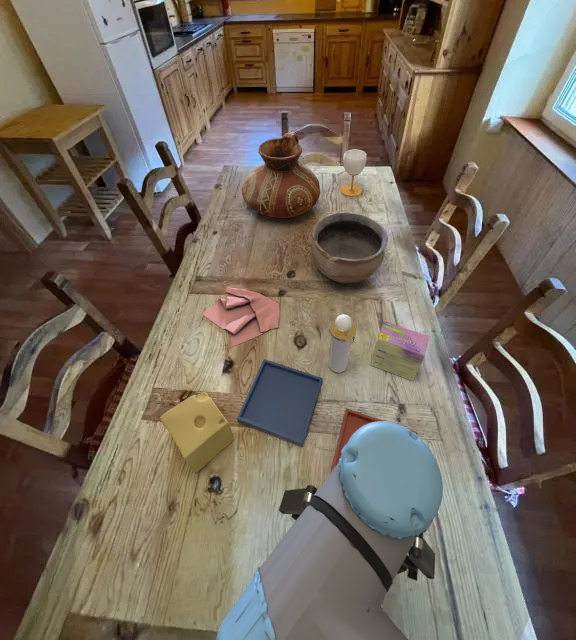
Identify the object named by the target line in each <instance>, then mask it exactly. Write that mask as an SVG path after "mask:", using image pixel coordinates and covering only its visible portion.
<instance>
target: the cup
mask: <svg viewBox="0 0 576 640" xmlns="http://www.w3.org/2000/svg"><path fill="white" fill-rule="evenodd" d="M367 159H368V157H367V153H366V151H364V150H362V149H357V148H353V149H352V148H351V149H348V150H346V151H345V152H344V153H343V168H344V170H345V172H346V173H347V174H348V175H349V176H351V181H350V183H347V184H343V185H342V186H341V187H340V192H341V193H342V194H343V195H345V196H347V197H358V196H360V195H361V194H362V193H363V188H362V187H361V186H360V185H358V184H355V183H354V180H355V176H356V177H357V176H358V175H360V174H361V173H362V172H363V170H364V169H365V167H366V164H367Z"/></svg>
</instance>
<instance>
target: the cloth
mask: <svg viewBox="0 0 576 640" xmlns="http://www.w3.org/2000/svg"><path fill="white" fill-rule="evenodd" d="M225 293H227V296H226V298H227V299H225V298H218V299H217V301H215V302H214V303H213V304H212V305H211V306H210V307H208V308H207V309H206V310H205V311H204V312H202V313H201V315H202V316H203V317H205V318H207V320H209V321H211V322H212V323H213V324H215V325H216V326H217V327H219V328H221V329H222V330H227V334H228V338H229V340H230V343H231V346H232V347H235V346H238V345H241V344H243V343H246V342H248V341H251V340H252V339H255V338H257V337H260V336H262V335H264V334H266V333H267V332H268V331H269V330H274V329H279V326H280V317H281V307H280V303H279V302H278V301H277V300H272V299H271V298H269V297H267V296H265V295H263V294H261V293H260V292H256V291H254V290H248V289H245V288H239V287H226V288H225Z"/></svg>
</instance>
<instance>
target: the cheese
mask: <svg viewBox="0 0 576 640" xmlns="http://www.w3.org/2000/svg"><path fill="white" fill-rule="evenodd" d="M159 420H160V422H161V424H162V425H163V426H164V428H165V429H166V430H167V431H168V433H169V434H170V436H171V438H172V439H173V441H174V444H175V445H176V447H177V448H178V450H179V452H180V454H181V456H182V457H183V459H184V460H185V462H186V463H187V465H188V466H189V467H190V469H191V470H192V471H193V472H194V473H195V474H196V473H198V472H199V471H201V470H202V469H203V468H204V467H205V466H206V465H208V463H210V462H211V461H212V460H213V459H214V458H215V457H216V456H217V455H219V453H221V452H222V451H223V450H224V449H225V448H227V447H229V445H230V444H231V443H233V442H234V441H235V440H236V439H235V435H234V433H233V431H232V427H231V424H230V423H229V421H228V420H227V419H226V416H224V415H223V413H222V412H221V410H220V409H219V408H218V406H217V405H216V403H215V401H213V399H212V397H210V396H209V394H208V393H207V391H202V392H201V393H199V394H192V395H191V396H189V397H187V398H186V399H184V400H183V401H181V402H179V403H178V404H176V405H175V406H173V407H172V408H170V409H168V410H167V411H165V412H164V413H163V414H162V415H161V416H160V417H159Z"/></svg>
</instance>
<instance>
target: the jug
mask: <svg viewBox="0 0 576 640" xmlns="http://www.w3.org/2000/svg"><path fill="white" fill-rule="evenodd" d="M257 152H258V154H259V157H260V158H261V159H262V161H263V163H262V164H260V165H258V166H256V167H255V168H254V169H253V170H252V171H250V172H249V173H248V175H247V176H246V177H245V178H244V181H243V184H242V186H241V187H242V188H241V195H242V199H243V202H244V204H246V205H247V207H249V208H250V209H251V210H252V211H254V212H256V213H258V214H261V215H262V216H265V217H271V218H279V219H287V218H288V219H289V218H294V217H295V218H296V217H299V216H301V215H303V214H305V213H307V212H309V211H311V209H312V208H313V207H315V206H316V205H317V203H318V201H319V198H320V196H321V187H320V181H319V179H318V177H317V176H316V175H315V173H314V172H313V171H312V169H311V168H309V167H308V166H307V165H305V164H304V163H302V162H301V161H299V160H300V159H299V158H300V157H301V156H302V153H303V147H302V146H301V144H300V142H299V137H298V135H297V134H296V133H293V132H285V133H284V135H282V136H281V137H276V138H270V139H267V140H264V142H262V143H261V144H260V145H259V147H258V151H257Z"/></svg>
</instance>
